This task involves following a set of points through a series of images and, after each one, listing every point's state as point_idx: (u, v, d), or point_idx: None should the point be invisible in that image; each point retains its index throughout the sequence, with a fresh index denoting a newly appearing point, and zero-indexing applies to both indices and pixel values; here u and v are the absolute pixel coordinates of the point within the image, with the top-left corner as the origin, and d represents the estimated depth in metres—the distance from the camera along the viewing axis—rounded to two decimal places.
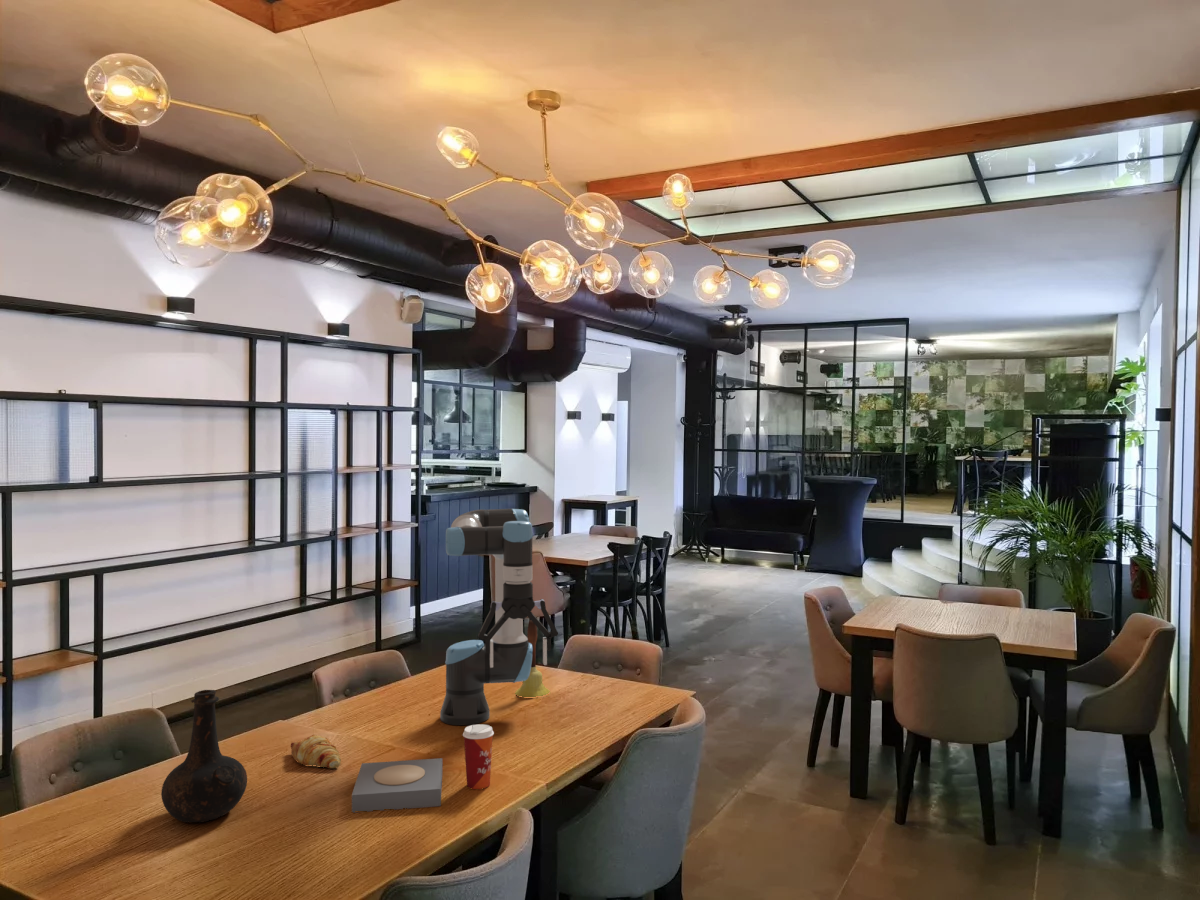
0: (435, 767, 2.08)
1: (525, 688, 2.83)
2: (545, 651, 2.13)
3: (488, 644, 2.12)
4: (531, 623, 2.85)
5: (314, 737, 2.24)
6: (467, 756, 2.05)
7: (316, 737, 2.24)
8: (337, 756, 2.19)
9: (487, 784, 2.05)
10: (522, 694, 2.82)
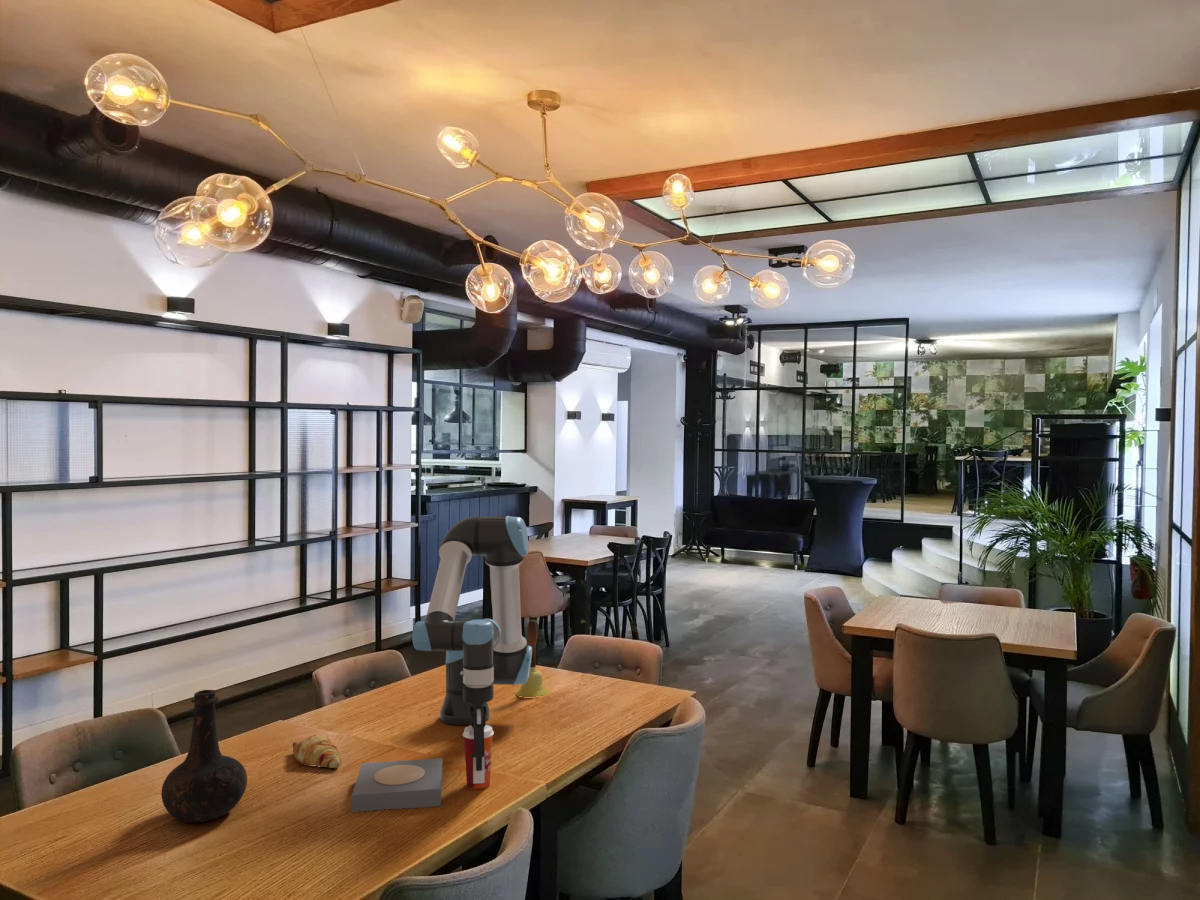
0: (435, 767, 2.08)
1: (525, 688, 2.83)
2: (473, 768, 2.03)
3: None
4: (531, 623, 2.85)
5: (315, 737, 2.24)
6: (467, 756, 2.05)
7: (317, 737, 2.24)
8: (337, 756, 2.19)
9: (487, 784, 2.05)
10: (522, 694, 2.82)
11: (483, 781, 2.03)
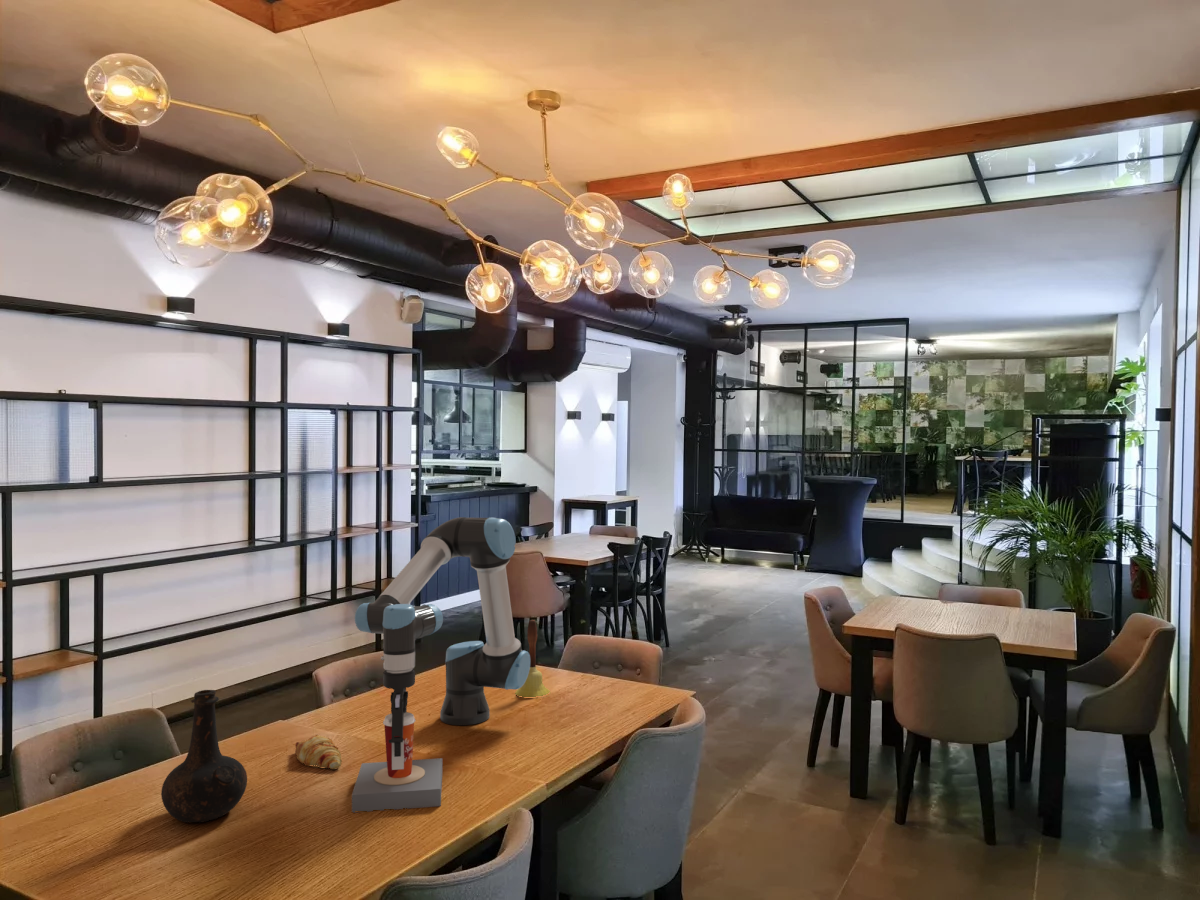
0: (435, 767, 2.08)
1: (525, 688, 2.83)
2: None
3: None
4: (531, 623, 2.85)
5: (317, 737, 2.24)
6: (387, 744, 2.01)
7: (319, 737, 2.24)
8: (338, 757, 2.19)
9: (408, 772, 2.01)
10: (522, 694, 2.82)
11: (402, 767, 1.97)
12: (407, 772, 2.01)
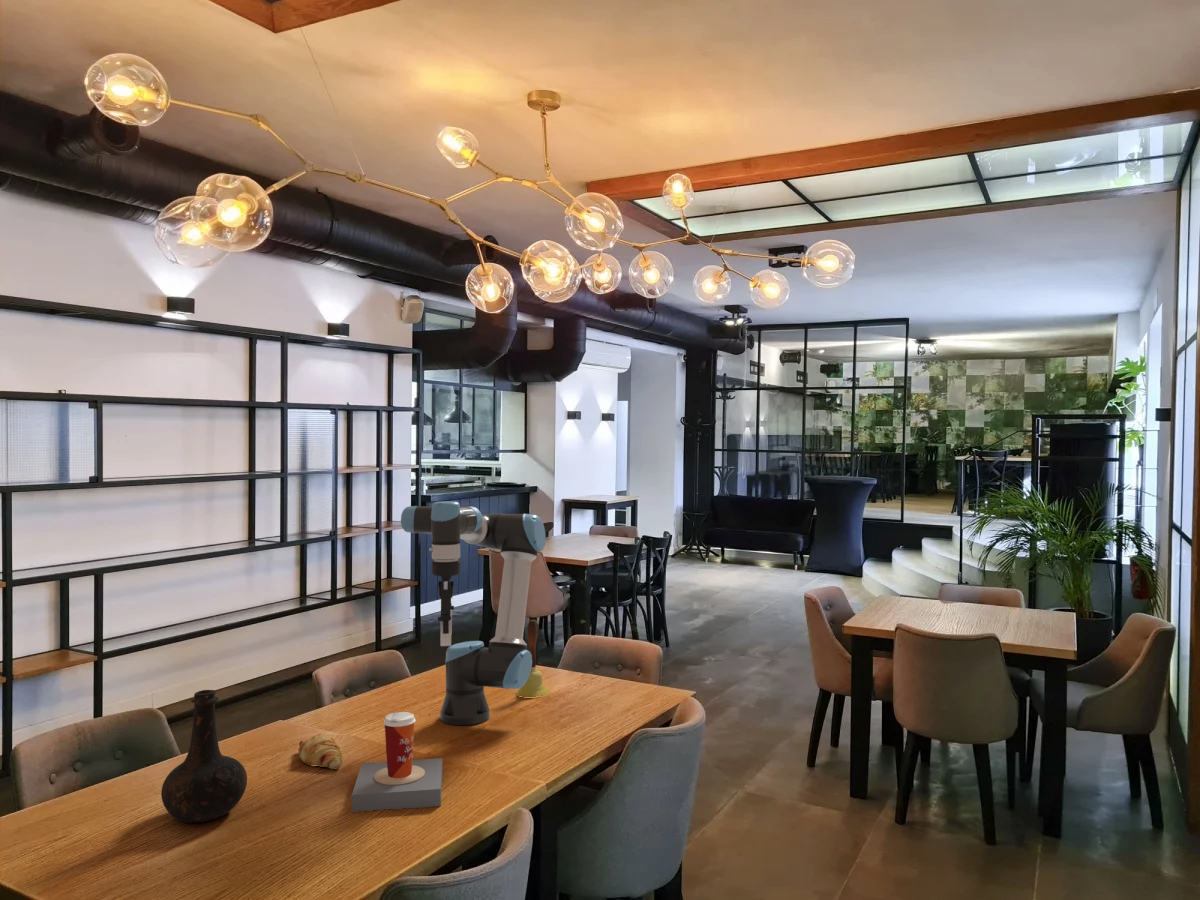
0: (435, 767, 2.08)
1: (525, 688, 2.83)
2: None
3: None
4: (531, 623, 2.85)
5: (319, 737, 2.24)
6: (387, 744, 2.01)
7: (321, 737, 2.24)
8: (338, 757, 2.18)
9: (408, 773, 2.01)
10: (522, 694, 2.82)
11: (450, 644, 2.15)
12: (407, 772, 2.01)
